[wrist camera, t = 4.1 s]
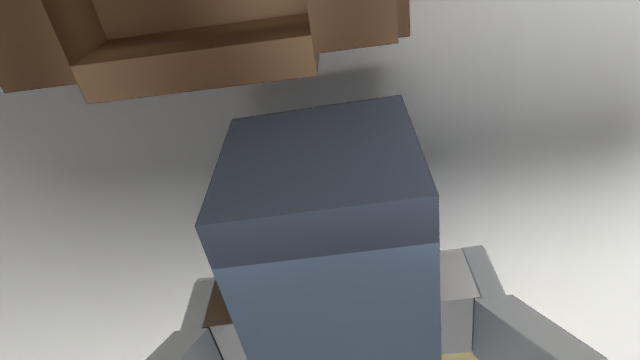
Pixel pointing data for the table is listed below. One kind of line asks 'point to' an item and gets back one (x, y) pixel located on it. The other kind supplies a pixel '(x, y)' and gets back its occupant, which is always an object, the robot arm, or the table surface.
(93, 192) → the table surface
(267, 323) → the blue-grey block
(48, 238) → the table surface
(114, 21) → the frame
